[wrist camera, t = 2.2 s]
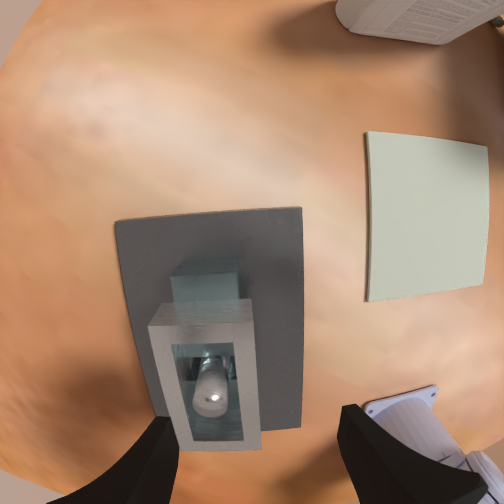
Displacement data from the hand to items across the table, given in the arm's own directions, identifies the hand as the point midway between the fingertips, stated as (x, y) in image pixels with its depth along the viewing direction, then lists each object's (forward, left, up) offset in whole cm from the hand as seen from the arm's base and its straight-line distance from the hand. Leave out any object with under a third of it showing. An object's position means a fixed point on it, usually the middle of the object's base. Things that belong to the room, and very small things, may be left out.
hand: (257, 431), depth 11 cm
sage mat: (+7, -15, -11) cm, 19 cm away
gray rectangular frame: (-1, +2, -7) cm, 7 cm away
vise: (-1, +2, -11) cm, 11 cm away
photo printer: (+23, -13, -11) cm, 28 cm away
